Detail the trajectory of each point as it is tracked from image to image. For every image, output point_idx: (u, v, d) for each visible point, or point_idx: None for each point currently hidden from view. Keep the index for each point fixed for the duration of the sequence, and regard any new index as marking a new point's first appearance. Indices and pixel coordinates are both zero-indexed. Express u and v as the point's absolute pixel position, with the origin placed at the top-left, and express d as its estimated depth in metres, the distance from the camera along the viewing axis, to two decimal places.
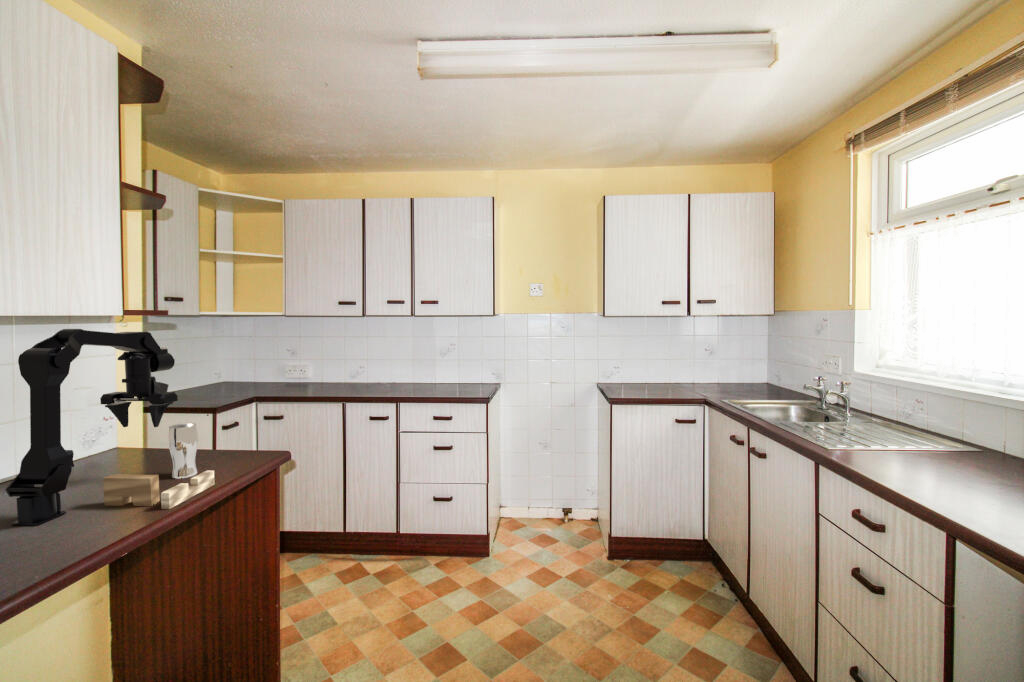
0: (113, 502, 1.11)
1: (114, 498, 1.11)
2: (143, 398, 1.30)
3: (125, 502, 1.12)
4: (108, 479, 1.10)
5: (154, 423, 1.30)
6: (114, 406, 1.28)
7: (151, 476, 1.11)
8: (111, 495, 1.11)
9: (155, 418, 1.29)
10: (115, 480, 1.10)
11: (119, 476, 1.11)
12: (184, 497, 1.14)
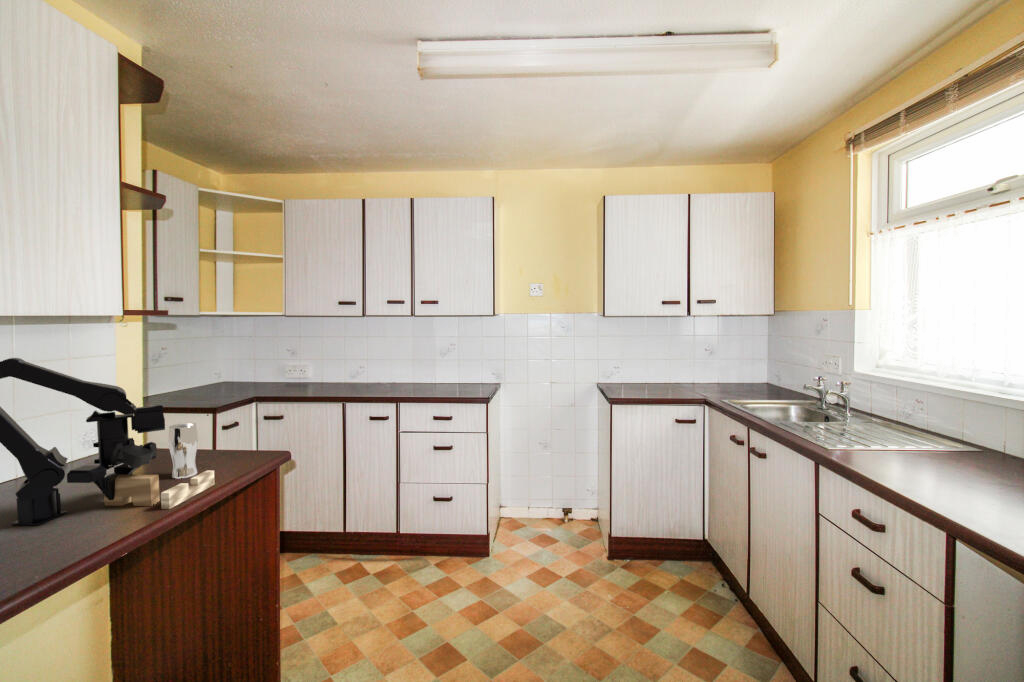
0: (113, 502, 1.11)
1: (114, 498, 1.11)
2: (111, 466, 1.10)
3: (125, 502, 1.12)
4: None
5: None
6: None
7: (151, 476, 1.11)
8: None
9: (101, 490, 1.09)
10: (115, 480, 1.10)
11: (119, 476, 1.11)
12: (184, 497, 1.14)
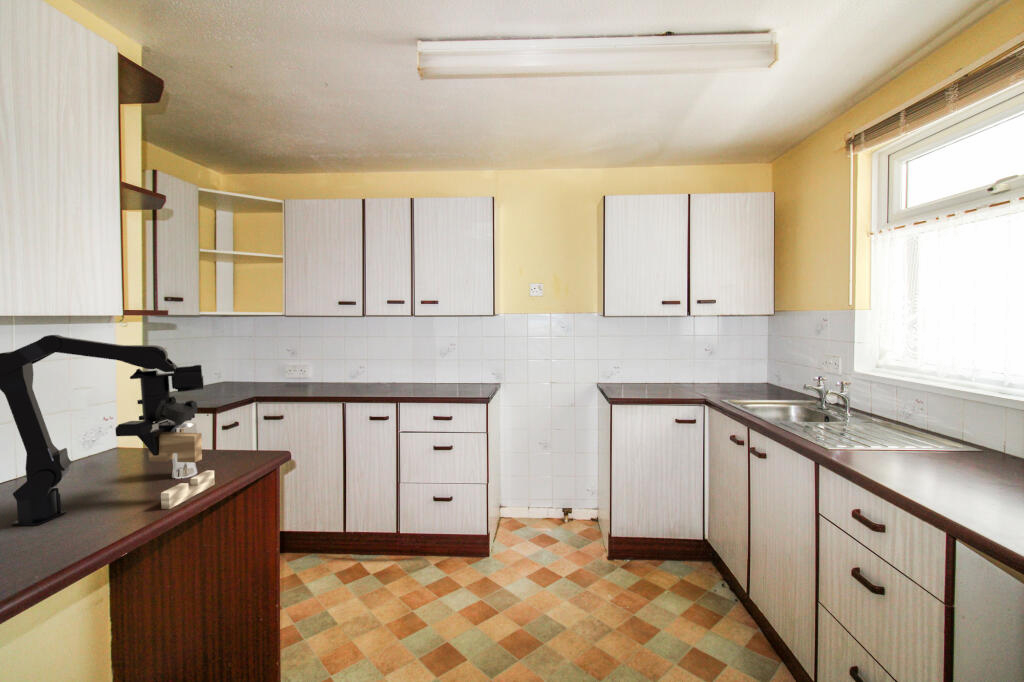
0: (157, 458, 1.14)
1: None
2: None
3: (169, 458, 1.15)
4: None
5: None
6: None
7: (195, 434, 1.15)
8: None
9: (146, 445, 1.13)
10: (160, 436, 1.14)
11: (163, 433, 1.15)
12: (184, 497, 1.14)
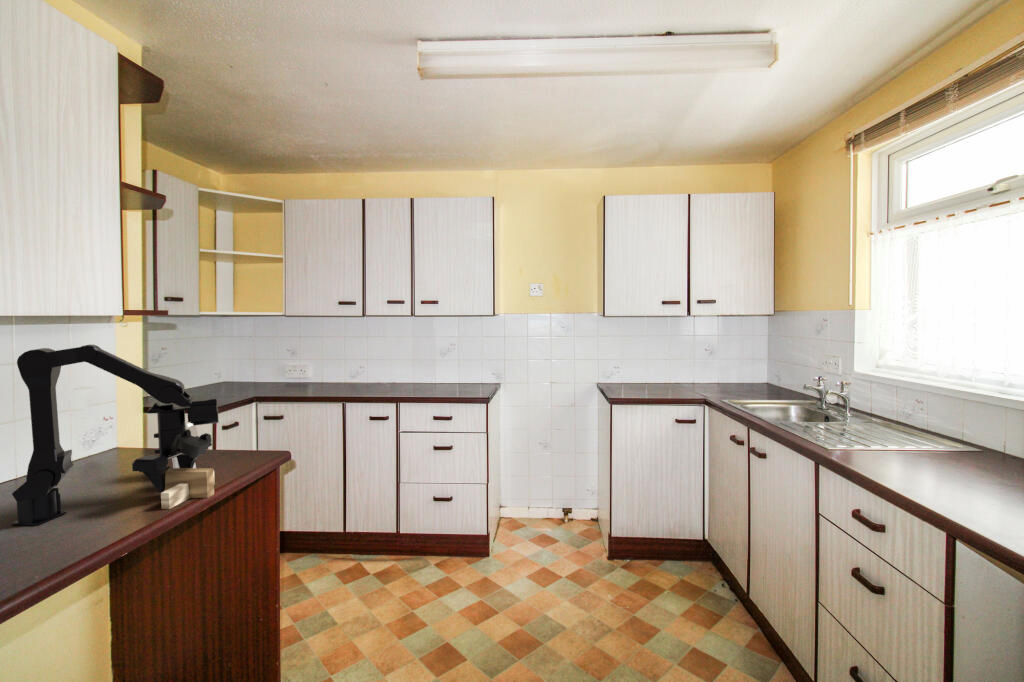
0: None
1: None
2: (170, 456, 1.15)
3: None
4: (166, 472, 1.15)
5: None
6: (176, 456, 1.21)
7: (207, 469, 1.16)
8: (169, 488, 1.15)
9: (153, 482, 1.11)
10: (173, 473, 1.15)
11: (176, 469, 1.16)
12: (184, 497, 1.14)
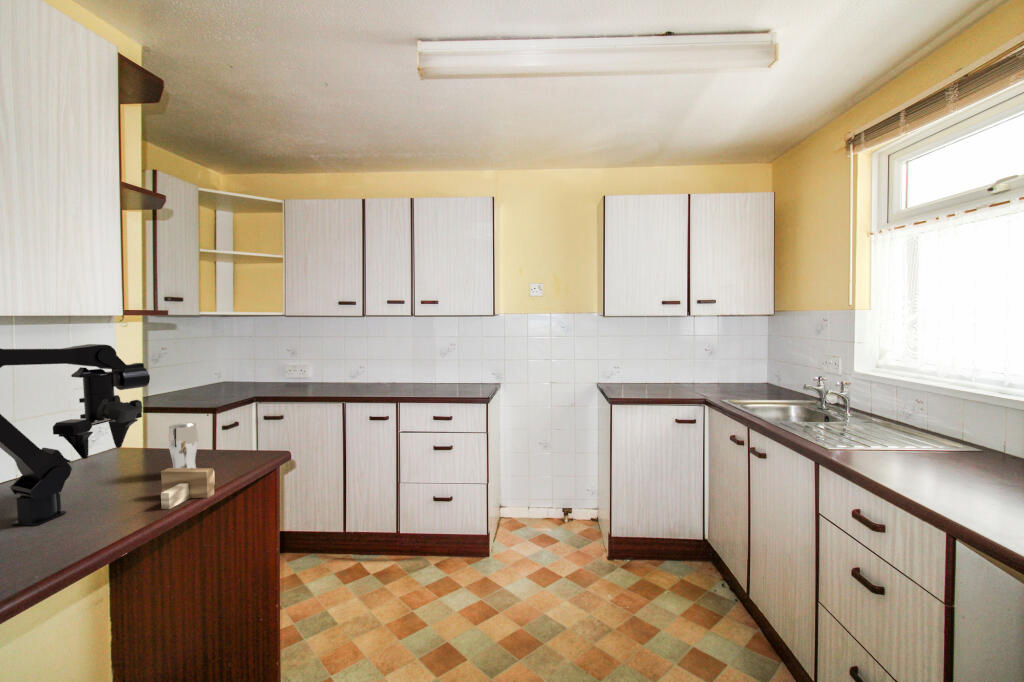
0: None
1: None
2: None
3: None
4: (166, 472, 1.15)
5: None
6: None
7: (207, 469, 1.16)
8: (169, 488, 1.15)
9: (75, 448, 1.09)
10: (173, 473, 1.15)
11: (176, 469, 1.16)
12: (184, 497, 1.14)
